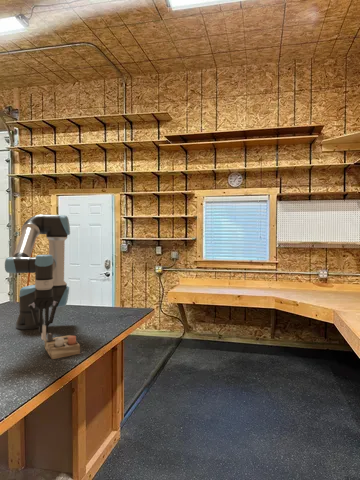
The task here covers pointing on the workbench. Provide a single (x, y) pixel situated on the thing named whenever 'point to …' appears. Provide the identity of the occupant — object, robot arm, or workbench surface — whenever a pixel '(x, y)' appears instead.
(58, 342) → the button
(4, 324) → the workbench surface
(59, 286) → the robot arm
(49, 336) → the fader knob
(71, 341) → the button
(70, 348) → the console
